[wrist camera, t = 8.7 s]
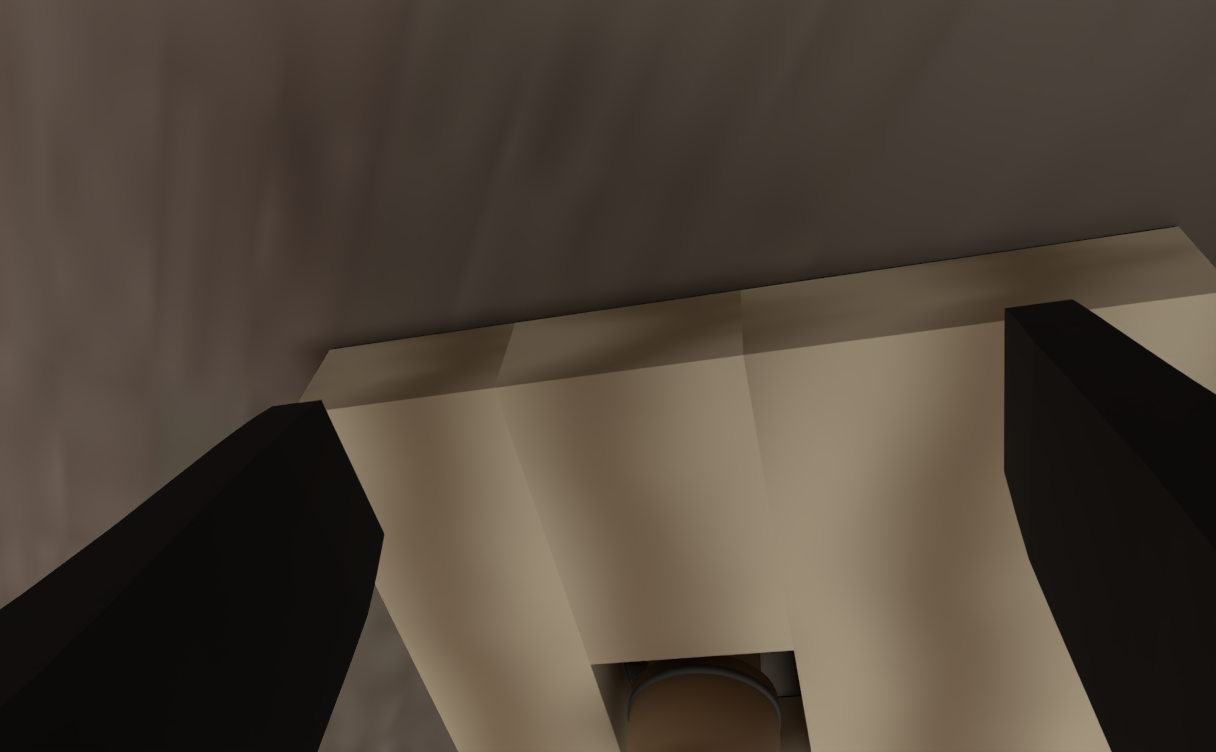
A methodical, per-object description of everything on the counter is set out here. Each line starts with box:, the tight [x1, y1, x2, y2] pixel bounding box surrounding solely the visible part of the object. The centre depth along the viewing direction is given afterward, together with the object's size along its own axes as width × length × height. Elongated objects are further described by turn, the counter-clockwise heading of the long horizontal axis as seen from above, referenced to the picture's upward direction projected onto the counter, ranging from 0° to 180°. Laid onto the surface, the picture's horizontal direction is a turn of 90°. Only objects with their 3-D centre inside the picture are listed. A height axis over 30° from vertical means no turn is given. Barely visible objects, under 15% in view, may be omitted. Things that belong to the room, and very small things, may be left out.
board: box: [298, 227, 1216, 752], centre depth 24 cm, size 18×18×2 cm
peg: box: [626, 653, 781, 752], centre depth 24 cm, size 4×4×7 cm
